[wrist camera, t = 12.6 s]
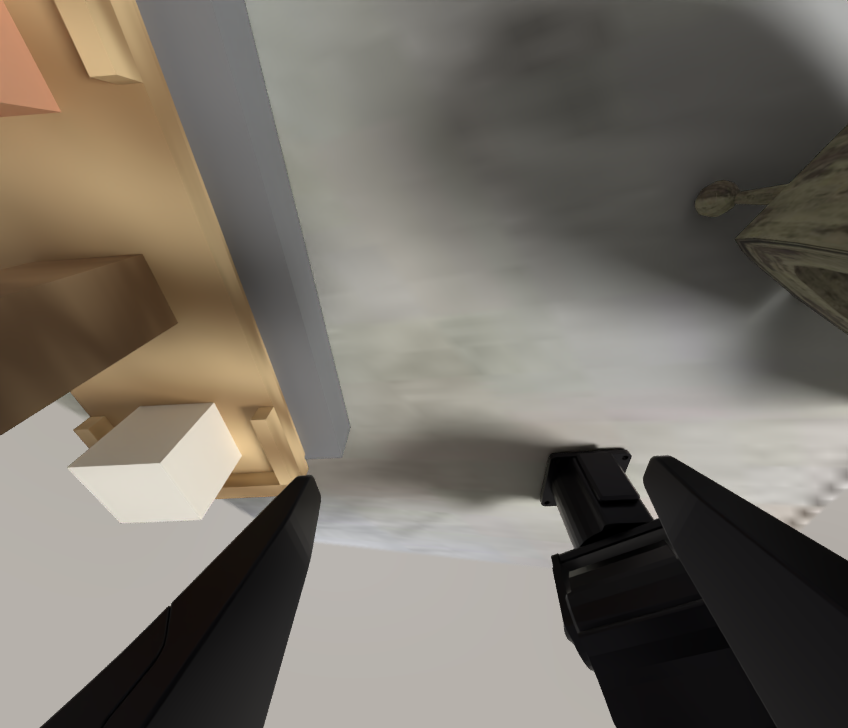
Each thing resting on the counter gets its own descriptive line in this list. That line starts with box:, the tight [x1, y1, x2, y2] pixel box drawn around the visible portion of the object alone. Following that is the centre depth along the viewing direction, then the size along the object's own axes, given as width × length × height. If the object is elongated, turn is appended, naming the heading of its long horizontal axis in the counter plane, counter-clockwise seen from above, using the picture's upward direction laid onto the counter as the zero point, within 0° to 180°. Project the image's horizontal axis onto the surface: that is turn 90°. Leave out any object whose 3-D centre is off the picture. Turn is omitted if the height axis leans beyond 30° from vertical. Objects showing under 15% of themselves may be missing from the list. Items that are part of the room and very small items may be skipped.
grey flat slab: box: [136, 0, 351, 459], centre depth 17 cm, size 26×14×3 cm, turn 4°
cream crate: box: [67, 403, 242, 524], centre depth 16 cm, size 4×4×4 cm
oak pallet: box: [0, 0, 309, 499], centre depth 11 cm, size 25×10×9 cm, turn 4°
